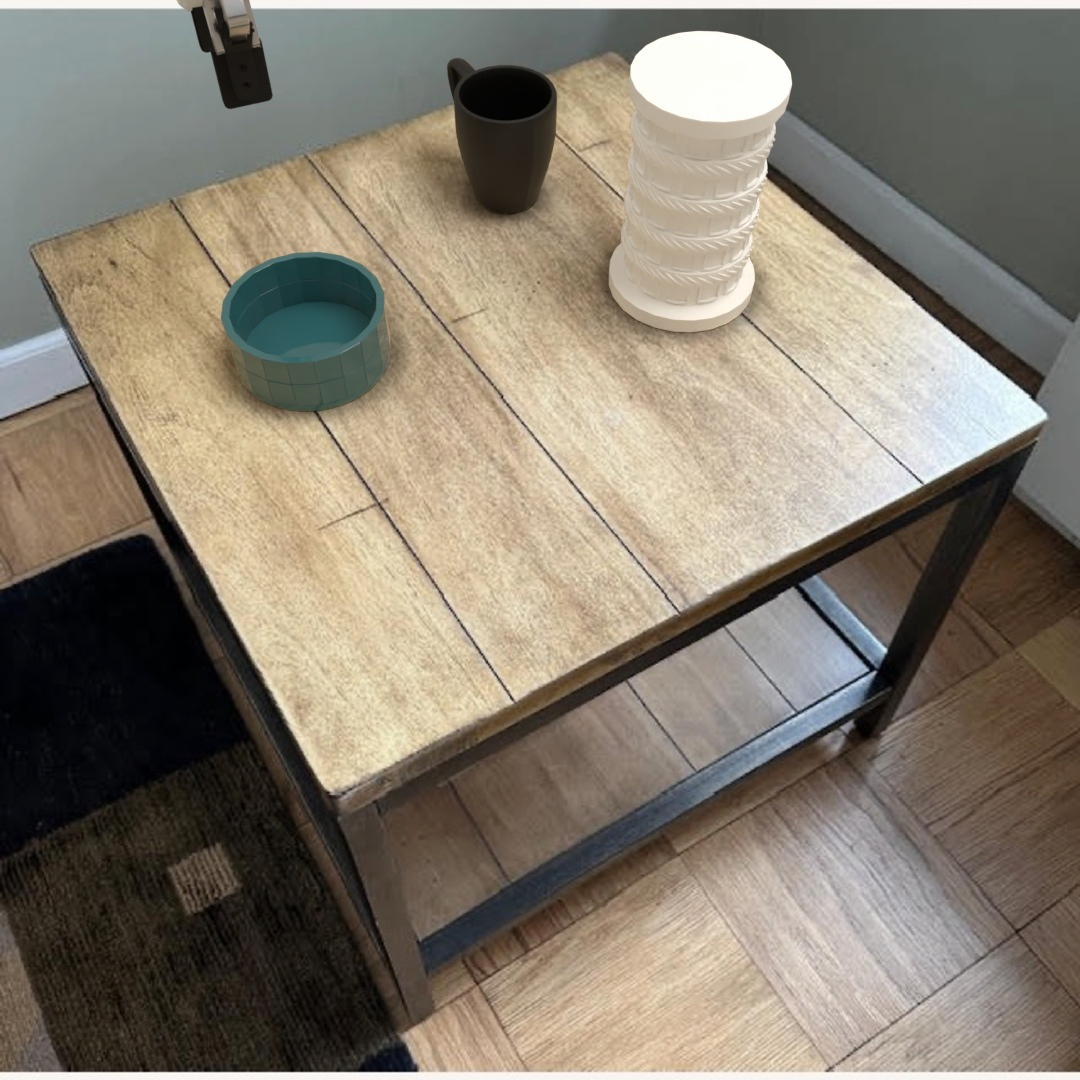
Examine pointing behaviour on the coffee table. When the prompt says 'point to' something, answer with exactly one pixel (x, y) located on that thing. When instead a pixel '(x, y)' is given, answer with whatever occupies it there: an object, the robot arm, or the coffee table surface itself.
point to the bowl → (307, 330)
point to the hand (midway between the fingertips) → (235, 71)
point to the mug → (503, 131)
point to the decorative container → (696, 177)
